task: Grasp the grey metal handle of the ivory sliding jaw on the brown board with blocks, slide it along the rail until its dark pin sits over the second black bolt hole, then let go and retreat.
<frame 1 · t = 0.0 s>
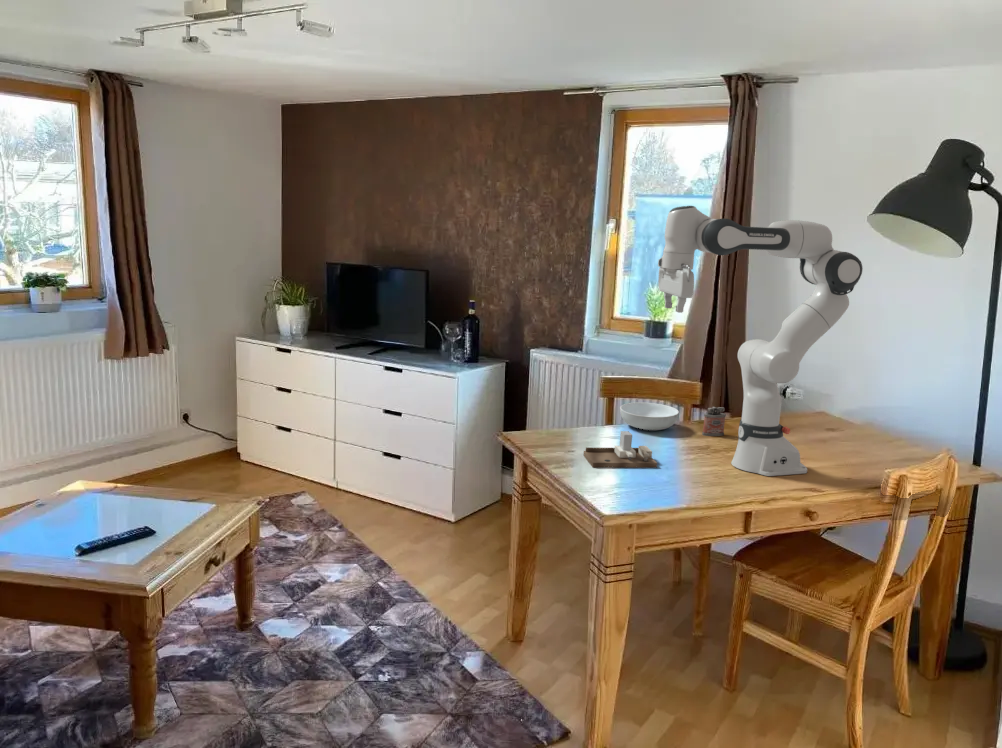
hand: (673, 310, 235), 48 cm above the table, fingers open, 8 cm apart
lighter: (712, 435, 284), on the table
serving bowl: (647, 428, 290), on the table
sliding jaw: (627, 445, 247), point 5 cm above the table, slide at 0.0 cm
brown board with blocks: (619, 461, 248), on the table
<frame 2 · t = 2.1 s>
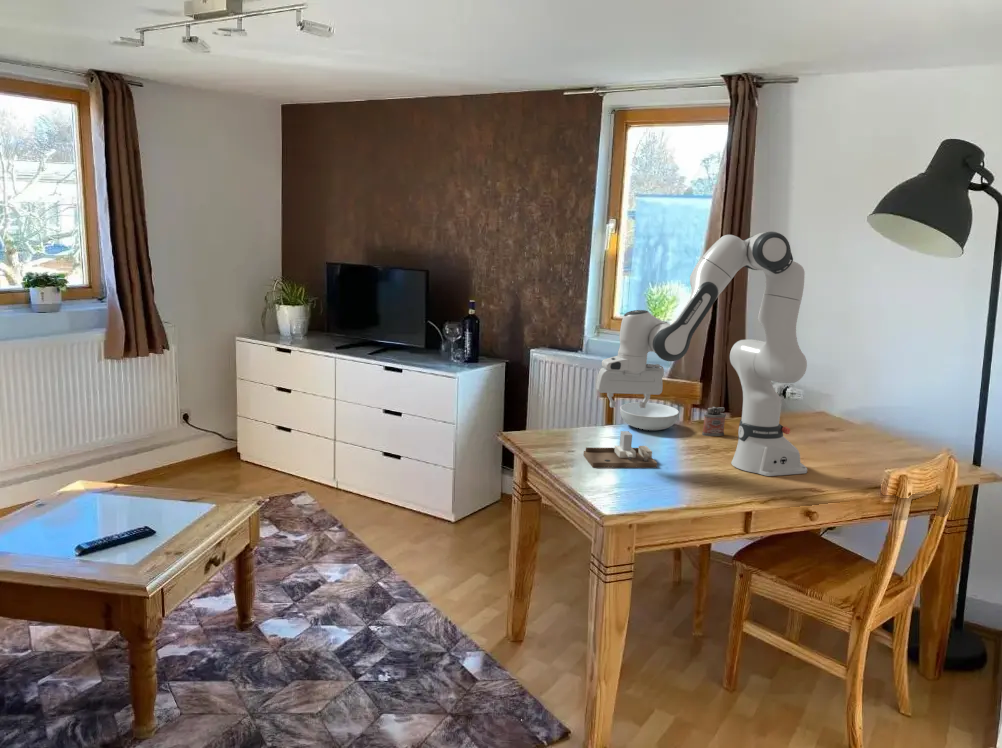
hand: (627, 407, 246), 17 cm above the table, fingers open, 8 cm apart
nothing on the table moved.
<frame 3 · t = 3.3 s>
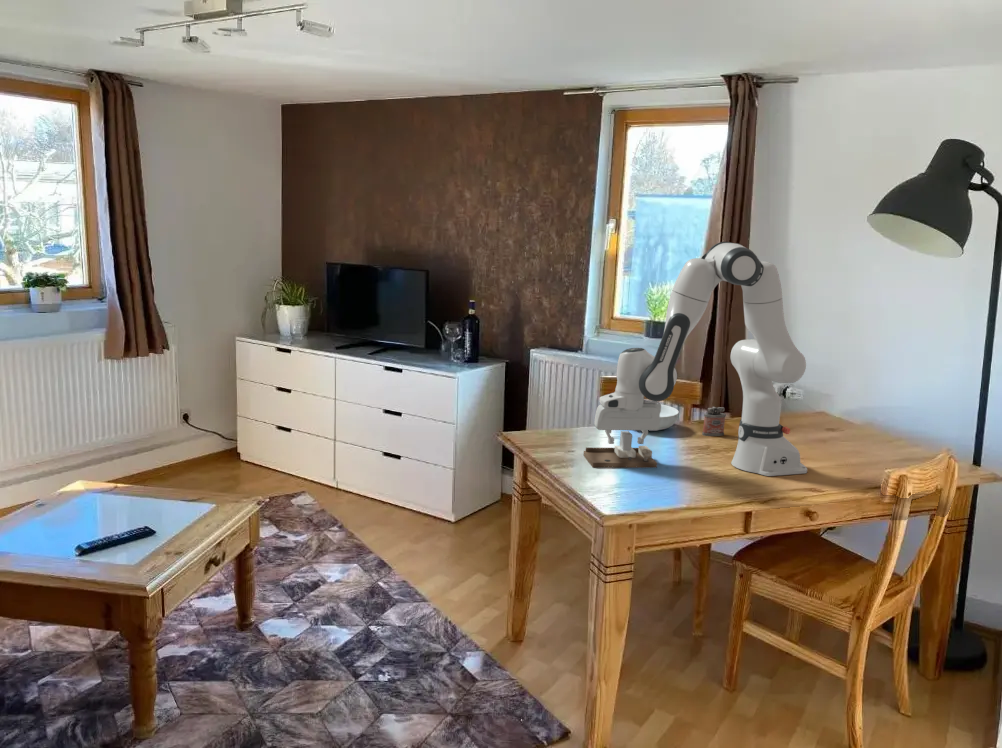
hand: (625, 443, 249), 5 cm above the table, fingers open, 8 cm apart
nothing on the table moved.
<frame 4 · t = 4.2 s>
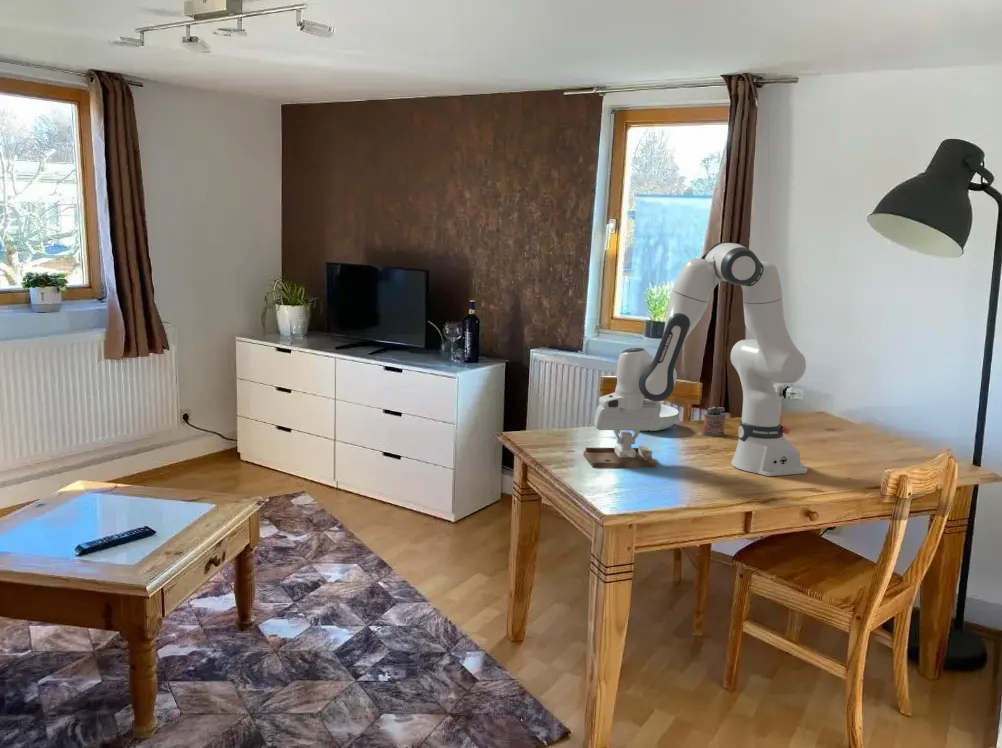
hand: (625, 443, 249), 5 cm above the table, fingers closed on sliding jaw, 2 cm apart
sliding jaw: (627, 445, 247), point 5 cm above the table, slide at 0.0 cm, touching gripper
everything else where it was.
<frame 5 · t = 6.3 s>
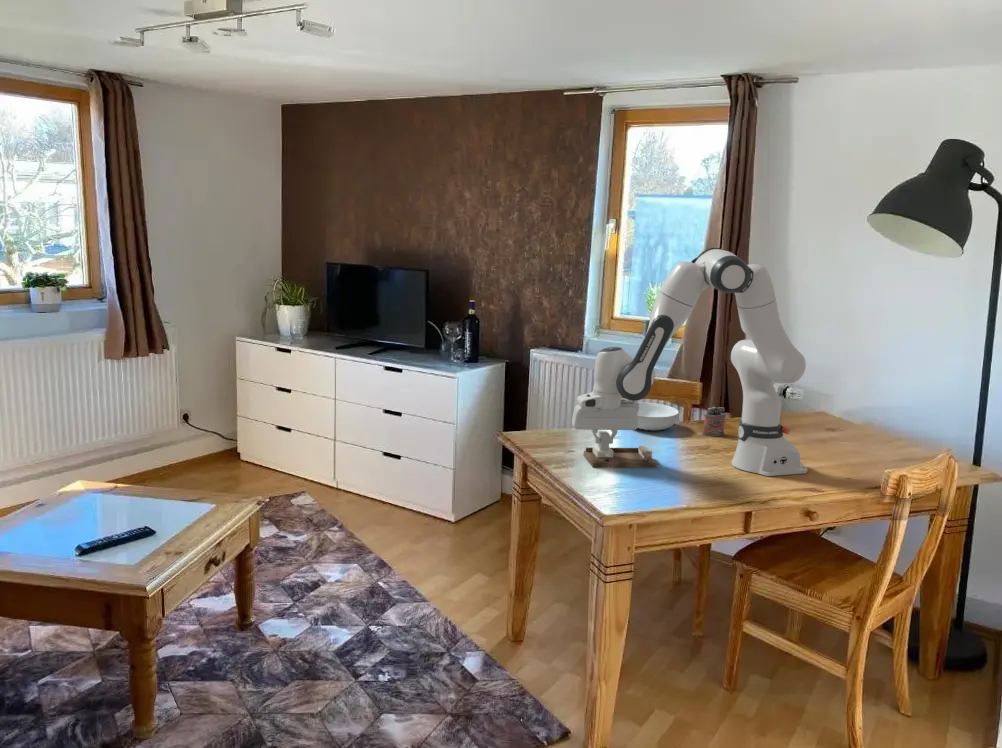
hand: (603, 443, 248), 5 cm above the table, fingers closed on sliding jaw, 2 cm apart
sliding jaw: (604, 445, 246), point 5 cm above the table, slide at 7.1 cm, touching gripper
everything else where it was.
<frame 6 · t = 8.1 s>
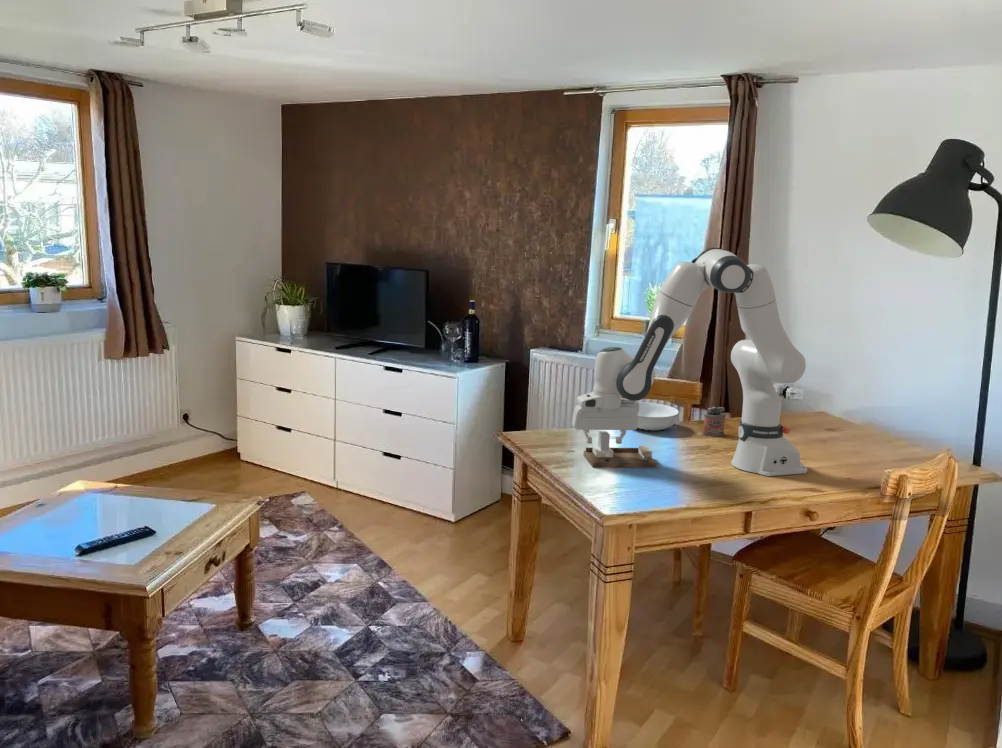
hand: (603, 443, 248), 5 cm above the table, fingers open, 8 cm apart
sliding jaw: (604, 445, 246), point 5 cm above the table, slide at 7.1 cm
everything else where it was.
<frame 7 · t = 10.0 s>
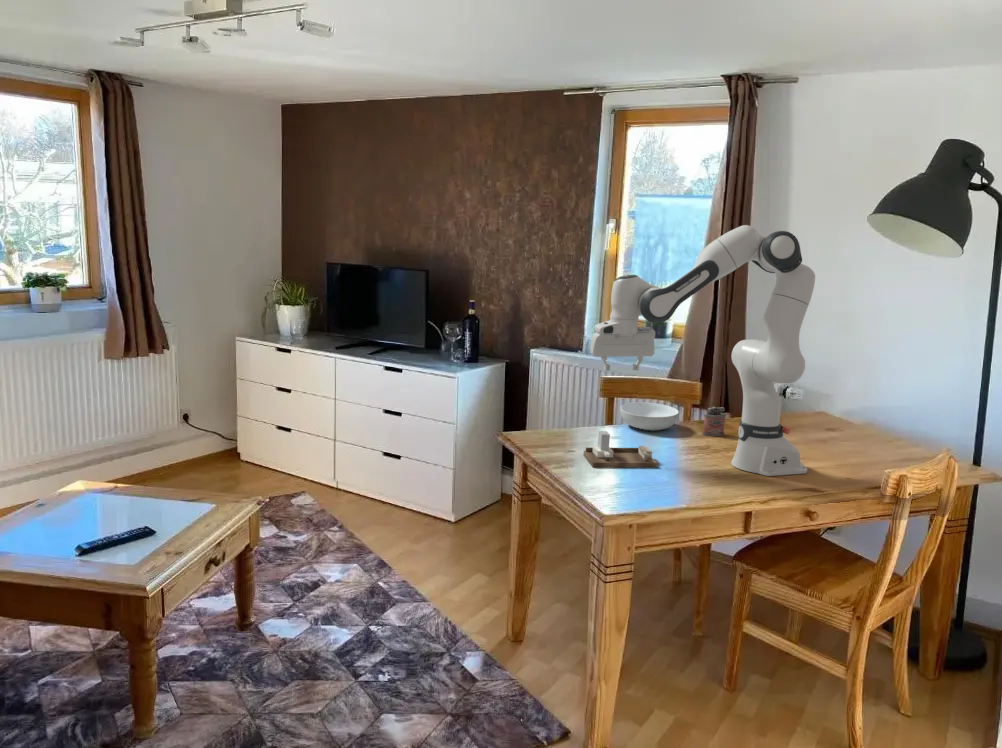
hand: (621, 370, 254), 27 cm above the table, fingers open, 8 cm apart
nothing on the table moved.
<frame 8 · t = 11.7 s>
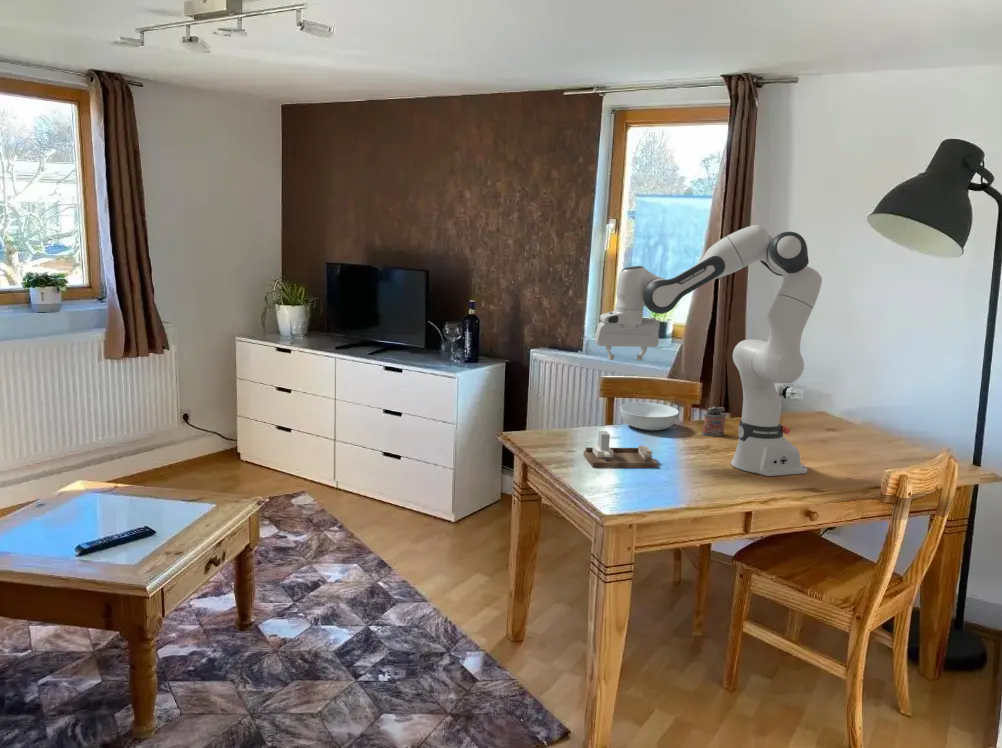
hand: (625, 360, 257), 29 cm above the table, fingers open, 8 cm apart
nothing on the table moved.
at the end: sliding jaw slide at 7.1 cm; the gripper is holding nothing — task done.
